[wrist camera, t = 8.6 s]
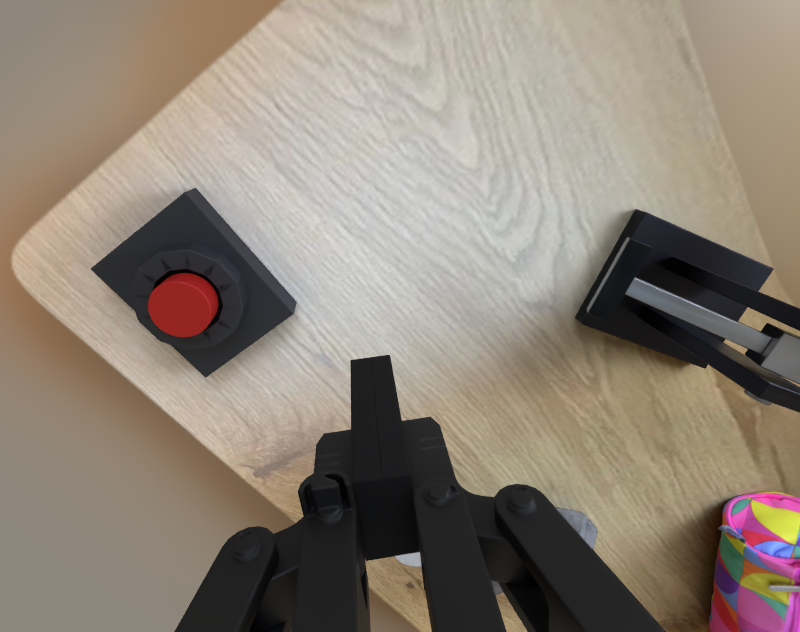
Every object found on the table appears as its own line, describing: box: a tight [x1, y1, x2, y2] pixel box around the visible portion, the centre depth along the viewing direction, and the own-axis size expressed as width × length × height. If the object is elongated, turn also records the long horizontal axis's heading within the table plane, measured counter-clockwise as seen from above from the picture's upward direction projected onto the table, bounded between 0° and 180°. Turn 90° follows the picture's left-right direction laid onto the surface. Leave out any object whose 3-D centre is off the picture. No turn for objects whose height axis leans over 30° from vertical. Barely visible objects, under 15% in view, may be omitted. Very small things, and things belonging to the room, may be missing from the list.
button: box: [148, 273, 218, 337], centre depth 28 cm, size 4×4×2 cm
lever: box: [587, 237, 800, 384], centre depth 27 cm, size 12×5×2 cm, turn 69°
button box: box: [91, 188, 297, 377], centre depth 31 cm, size 10×8×4 cm
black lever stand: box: [575, 209, 800, 412], centre depth 31 cm, size 12×9×13 cm
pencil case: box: [708, 492, 800, 632], centre depth 45 cm, size 22×9×9 cm, turn 11°
